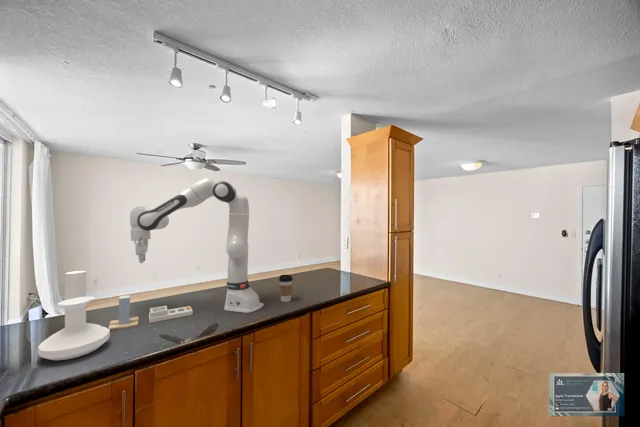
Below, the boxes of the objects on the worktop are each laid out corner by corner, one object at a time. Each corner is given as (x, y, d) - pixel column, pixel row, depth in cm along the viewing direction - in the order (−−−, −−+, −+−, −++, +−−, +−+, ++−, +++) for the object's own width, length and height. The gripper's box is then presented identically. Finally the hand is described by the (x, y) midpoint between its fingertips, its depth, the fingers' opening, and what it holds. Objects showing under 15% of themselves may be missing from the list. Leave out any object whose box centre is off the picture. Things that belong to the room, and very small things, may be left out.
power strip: (149, 322, 125) (149, 313, 126) (149, 316, 133) (149, 308, 133) (192, 314, 136) (192, 306, 136) (190, 309, 144) (190, 301, 144)
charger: (119, 321, 125) (119, 296, 125) (129, 319, 127) (130, 294, 127) (118, 325, 121) (118, 299, 121) (129, 323, 123) (129, 297, 123)
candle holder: (122, 338, 109) (122, 292, 110) (79, 366, 89) (79, 310, 90) (73, 339, 109) (74, 293, 109) (19, 366, 89) (20, 310, 89)
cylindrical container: (62, 329, 117) (62, 274, 118) (68, 324, 124) (68, 271, 124) (82, 326, 121) (83, 272, 121) (87, 321, 127) (88, 270, 127)
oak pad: (110, 323, 125) (110, 320, 125) (138, 318, 131) (138, 316, 131) (107, 331, 116) (107, 329, 116) (137, 325, 122) (137, 323, 122)
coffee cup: (287, 297, 166) (287, 273, 166) (295, 300, 160) (295, 276, 160) (276, 300, 160) (276, 275, 160) (284, 303, 154) (284, 278, 154)
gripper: (146, 236, 135) (147, 263, 134) (149, 235, 152) (150, 259, 152) (131, 237, 132) (132, 265, 131) (136, 237, 149) (137, 261, 149)
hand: (142, 262), depth 142 cm, fingers open, 8 cm apart
